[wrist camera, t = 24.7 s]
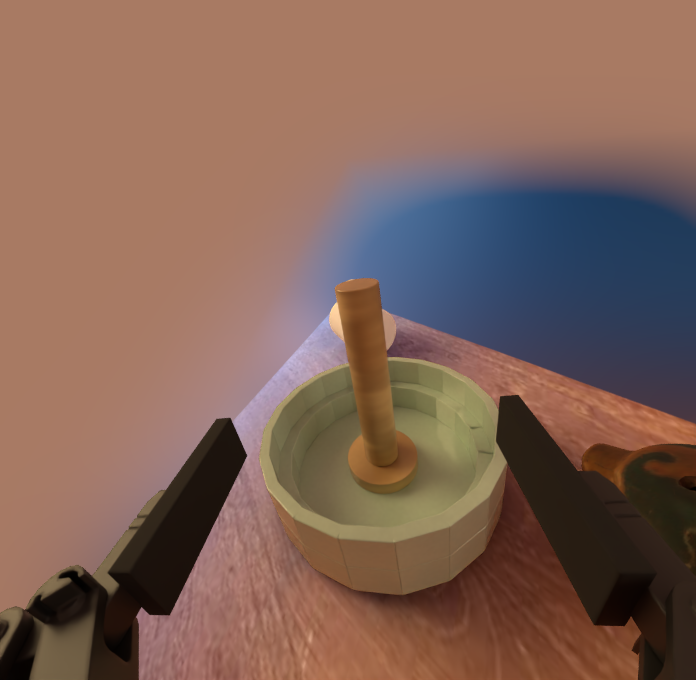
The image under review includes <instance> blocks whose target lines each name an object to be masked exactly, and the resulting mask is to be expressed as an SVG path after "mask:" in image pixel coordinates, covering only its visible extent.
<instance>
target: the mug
mask: <svg viewBox="0 0 696 680" xmlns="http://www.w3.org/2000/svg"><path fill="white" fill-rule="evenodd" d="M348 281H350V280H348ZM382 314H383V323H384V332H385V341H386V349H387V350H388V349H389V348H390V346H391V345H392V343H393V341H394V339H395V335H396V324H395V321H394V319H393V317H392V316H391V315H390V314H389V313H388V312H386V311H385V310H383V309H382ZM329 322H330V326H331V329H332V330H333V332H334V333H335V334H336V335H337V336H338V337H339V338H340V339H341V340H342V341H344V336H343V330H342V325H341V319H340V314H339V309H338V303H336V304H335V305H334V306H333V308H332V310H331V312H330V317H329ZM344 342H345V341H344Z"/></svg>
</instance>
